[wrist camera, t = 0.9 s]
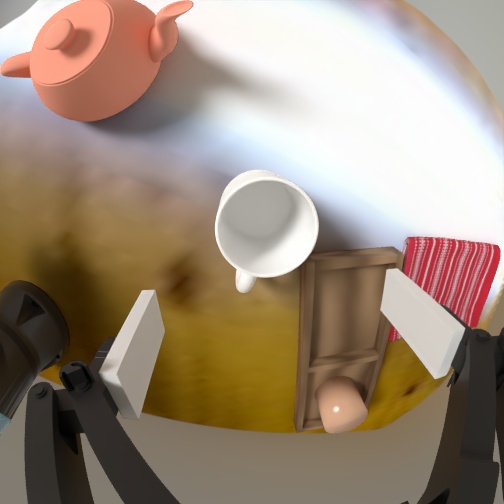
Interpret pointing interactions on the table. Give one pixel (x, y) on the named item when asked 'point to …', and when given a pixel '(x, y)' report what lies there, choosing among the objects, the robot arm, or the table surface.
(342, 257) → the caddy
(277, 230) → the mug
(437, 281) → the dish towel
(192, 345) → the table surface
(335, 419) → the peach rounded cylinder
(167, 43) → the teapot
